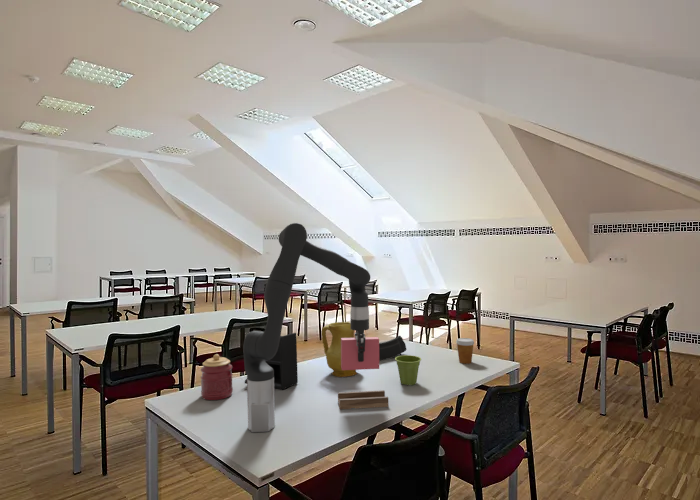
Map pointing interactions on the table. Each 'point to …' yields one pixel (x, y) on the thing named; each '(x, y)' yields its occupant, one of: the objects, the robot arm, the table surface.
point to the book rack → (362, 399)
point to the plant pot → (408, 368)
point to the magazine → (391, 348)
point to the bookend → (285, 362)
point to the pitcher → (337, 347)
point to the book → (351, 354)
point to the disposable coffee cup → (465, 350)
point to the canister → (216, 378)
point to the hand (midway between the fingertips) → (360, 359)
